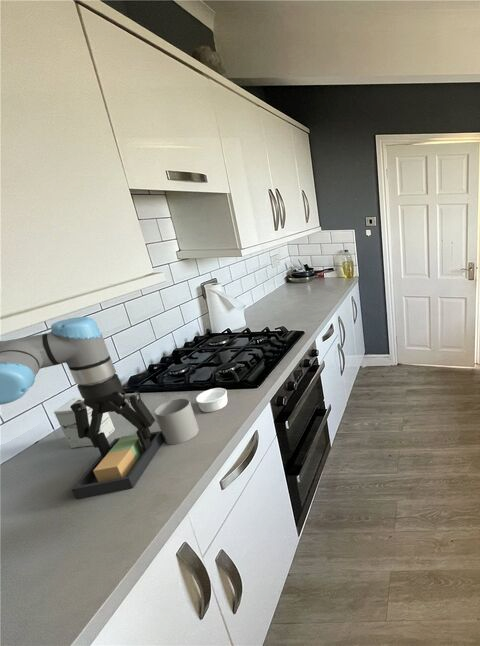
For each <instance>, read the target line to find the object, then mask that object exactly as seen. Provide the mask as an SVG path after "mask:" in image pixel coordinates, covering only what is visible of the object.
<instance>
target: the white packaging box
mask: <svg viewBox="0 0 480 646" xmlns="http://www.w3.org/2000/svg"><path fill="white" fill-rule="evenodd" d="M77 400H82V401H83V400H84V398H82V396H80V397H73V398H70V399H69V400H68V401H67V402H65V403H64V404H62V405H61V406H59V407H58V408H56V409H55V410H54V411H53V413H54V416H55V418H56V420H57V422H58V423H59V426H60V428H61V430H62V432H63V434H64V436H65V439H66V441H67V442H68V445H69V447H70V448H71V449H73V448H81V447H82V448H83V447H90V446H93V444H92V441H91V439H89V438H87V437H84V438H79V437H78V431H77V425H76V419H75V413H74V412H73V411H72V409H71V407H70V406H71V405H72V404H74V403H75V402H76V401H77ZM86 408H87V413H88V420H89V427H90V424H91V419H92V417H91V414H92V409H91V408H90V407H88V406H87V407H86ZM100 430H101V431H100ZM100 430H99V431H100V432H99V433H101V432H104V434H105V436H106V439H107V438H108V437H110V435H111V434H112V433H114V431H116V429H115V426H114V424H113V421H112V418H111V416H110V413H109V412H106V413H103V416H102V421H101V426H100Z"/></svg>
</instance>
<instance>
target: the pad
mask: <svg viewBox="0 0 480 646" xmlns="http://www.w3.org/2000/svg"><path fill="white" fill-rule="evenodd" d="M119 438H120V439H119V440H118V442H117V443H116V444H115V445H114V446H113V448H112V449H111V450H110V451H109V452H108V453H110V452H115V451H121V450H127V449H131V451H132V453H133V455H134V458H135V460H136V462H137V460H138V459H139V458H140V456H141V455H142V453H143V452H144V451H143V448H142V446H141V443H140V441H139V438H138V436H137V433H135V434H130V435H124V436H121V437H119Z"/></svg>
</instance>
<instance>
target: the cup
mask: <svg viewBox="0 0 480 646" xmlns="http://www.w3.org/2000/svg"><path fill="white" fill-rule="evenodd" d="M154 415H155V419H156V421H157V424H158V427H159V429H160V431H161V432H162V434H163V437H164V442H165V443H166V444H167V445H178V444H179V445H180V444H182V443H185V442H187V441H190V440H191V439H192V438H194V437H196V436H197V434H198V433H199V430H200V428H199V424H198V422H197V419H196V416H195V413H194V410H193V407H192V404H191V400H189V399H188V398H176V399H175V398H174V399H171V400H169V401H166V402H164V403H162V404H160V405H159V406H157V407H156V408H155V409H154Z"/></svg>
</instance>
